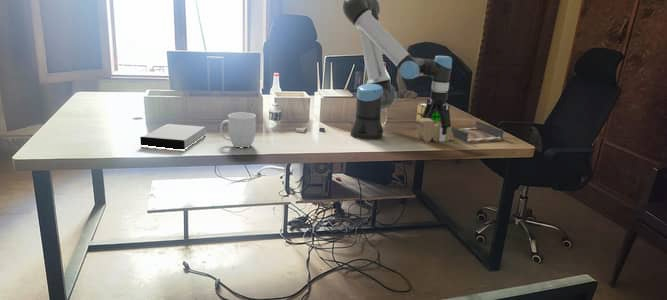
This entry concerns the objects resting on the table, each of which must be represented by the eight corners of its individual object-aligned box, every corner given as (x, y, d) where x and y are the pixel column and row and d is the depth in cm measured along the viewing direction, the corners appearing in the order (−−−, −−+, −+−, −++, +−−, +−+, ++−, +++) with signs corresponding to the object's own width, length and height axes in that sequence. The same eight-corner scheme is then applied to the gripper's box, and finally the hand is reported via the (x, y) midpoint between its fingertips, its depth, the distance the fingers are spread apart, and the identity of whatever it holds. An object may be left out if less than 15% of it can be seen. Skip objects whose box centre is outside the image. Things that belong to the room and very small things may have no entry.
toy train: (452, 141, 212) (455, 120, 209) (419, 142, 208) (422, 120, 205) (446, 137, 217) (449, 117, 214) (414, 138, 213) (416, 117, 210)
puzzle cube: (431, 121, 248) (433, 103, 245) (441, 125, 239) (444, 107, 236) (415, 121, 245) (417, 103, 242) (425, 126, 236) (427, 107, 233)
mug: (215, 147, 184) (214, 116, 180) (225, 140, 194) (224, 110, 190) (251, 151, 182) (251, 119, 178) (259, 143, 192) (259, 113, 188)
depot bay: (465, 143, 209) (466, 133, 207) (441, 133, 225) (442, 123, 223) (501, 140, 218) (503, 130, 216) (476, 130, 233) (478, 121, 232)
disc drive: (141, 149, 179) (140, 136, 177) (167, 134, 200) (166, 123, 199) (184, 153, 177) (183, 140, 176) (206, 137, 199) (205, 126, 197)
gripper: (463, 95, 197) (456, 144, 203) (431, 86, 217) (425, 130, 224) (449, 96, 194) (442, 145, 200) (417, 86, 214) (413, 131, 221)
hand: (433, 137), depth 212 cm, fingers open, 11 cm apart
